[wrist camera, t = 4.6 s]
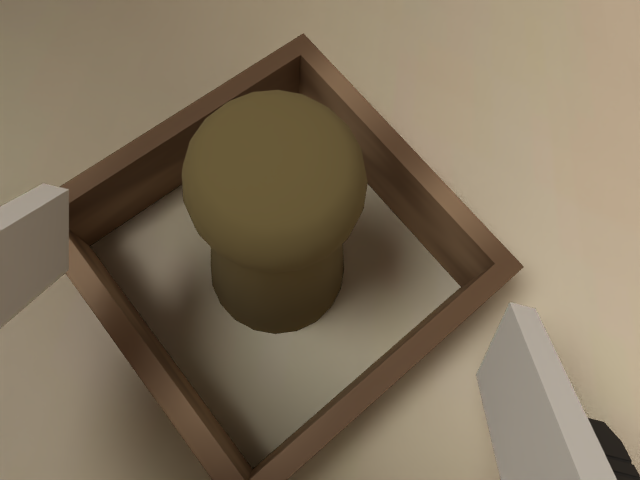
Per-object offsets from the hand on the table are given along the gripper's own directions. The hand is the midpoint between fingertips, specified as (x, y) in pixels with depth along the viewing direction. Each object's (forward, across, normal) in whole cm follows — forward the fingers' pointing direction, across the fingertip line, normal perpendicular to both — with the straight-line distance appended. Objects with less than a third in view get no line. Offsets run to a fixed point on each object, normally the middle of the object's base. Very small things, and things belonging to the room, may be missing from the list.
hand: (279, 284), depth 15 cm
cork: (+8, -1, -4) cm, 8 cm away
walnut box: (+7, -1, -4) cm, 8 cm away
